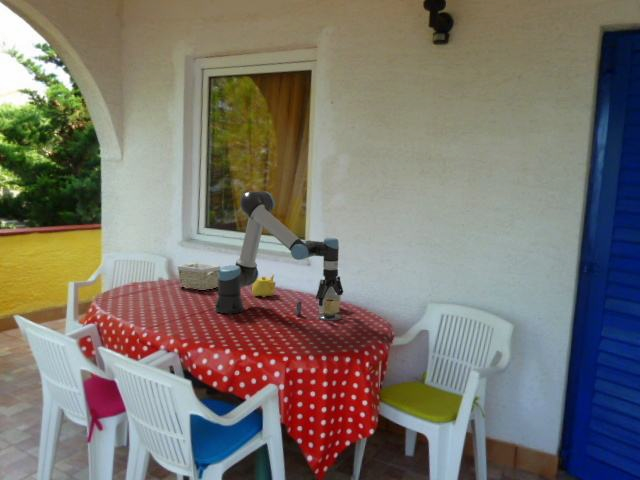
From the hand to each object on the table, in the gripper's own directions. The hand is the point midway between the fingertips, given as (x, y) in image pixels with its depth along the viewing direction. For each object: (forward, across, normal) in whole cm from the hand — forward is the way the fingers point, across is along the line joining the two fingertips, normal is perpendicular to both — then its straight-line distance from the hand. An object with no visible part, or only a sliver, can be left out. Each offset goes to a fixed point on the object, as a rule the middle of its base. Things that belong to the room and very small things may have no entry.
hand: (329, 309), depth 252 cm
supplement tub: (+4, +15, +14) cm, 21 cm away
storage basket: (+5, -2, +103) cm, 103 cm away
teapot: (+4, +13, +58) cm, 60 cm away
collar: (+1, 0, 0) cm, 1 cm away
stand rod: (+4, -8, +14) cm, 16 cm away
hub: (+4, 0, 0) cm, 4 cm away
